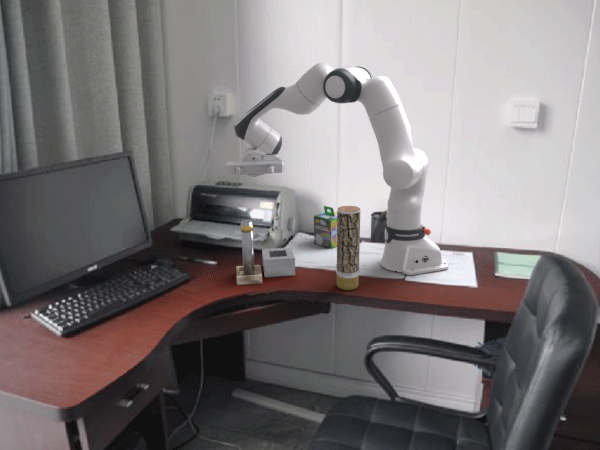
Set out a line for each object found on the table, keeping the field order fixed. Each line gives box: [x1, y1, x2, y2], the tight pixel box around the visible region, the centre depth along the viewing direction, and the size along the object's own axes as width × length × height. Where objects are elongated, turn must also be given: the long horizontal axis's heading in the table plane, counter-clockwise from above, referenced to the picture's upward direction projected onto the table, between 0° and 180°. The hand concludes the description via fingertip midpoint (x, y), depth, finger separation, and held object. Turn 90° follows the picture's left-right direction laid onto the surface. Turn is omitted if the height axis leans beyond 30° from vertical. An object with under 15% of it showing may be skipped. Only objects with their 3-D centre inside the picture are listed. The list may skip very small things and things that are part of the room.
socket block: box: [261, 247, 296, 278], centre depth 167 cm, size 10×10×6 cm
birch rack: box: [235, 264, 263, 286], centre depth 162 cm, size 8×9×3 cm
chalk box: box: [313, 205, 337, 249], centre depth 190 cm, size 9×9×15 cm
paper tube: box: [336, 205, 361, 291], centre depth 152 cm, size 7×7×25 cm
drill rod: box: [240, 219, 255, 276], centre depth 159 cm, size 4×4×18 cm
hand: (255, 171), depth 166 cm, fingers open, 8 cm apart
